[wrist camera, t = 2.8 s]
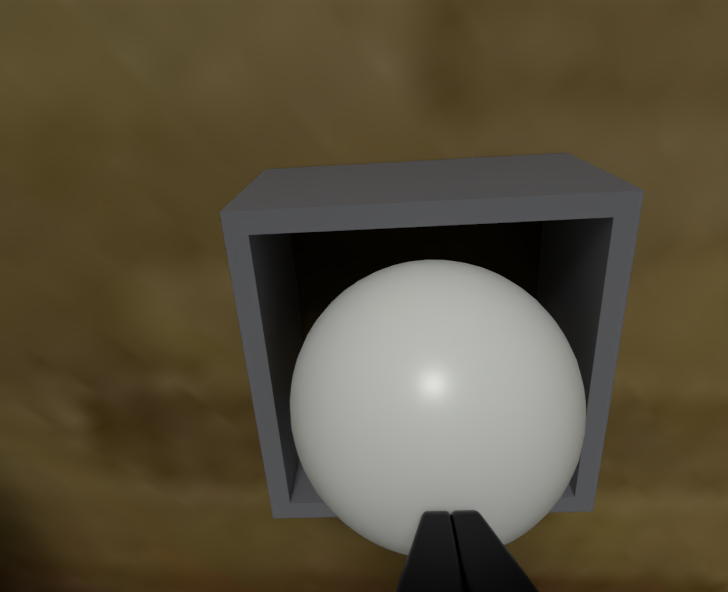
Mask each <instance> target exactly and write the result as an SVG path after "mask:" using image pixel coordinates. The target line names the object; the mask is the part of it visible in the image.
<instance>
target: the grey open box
mask: <svg viewBox="0 0 728 592" xmlns="http://www.w3.org/2000/svg"><path fill="white" fill-rule="evenodd" d="M643 194H644V190H642V189H640V188H638V187H636V186H634V185H632V184H630V183H628V182H626V181H624V180H622V179H620V178H618V177H616V176H614V175H612V174H610V173H607V172H605V171H603V170H601V169H599V168H597V167H595V166H593V165H591V164H589V163H587V162H585V161H583V160H581V159H579V158H577V157H575V156H573V155H571V154H569V153H554V154H535V155H517V156H499V157H481V158H463V159H444V160H426V161H408V162H390V163H372V164H353V165H335V166H317V167H299V168H281V169H265V170H264V171H263V172H262V173H261V174H260V175H259V176H258V177H257V178H255V179H254V180H253V181H252V182H251V183H250V184H249V185H248V186H247V187H246V188H245V189H244V190H243V191H242V192H240V193H239V194H238V195H237V196H236V197H235V198H234V199H233V200H232V201H231V202H230V203H229V204H228V205H227V206H226V207H224V208H223V209H222V210H221V211H220V217H221V223H222V228H223V234H224V240H225V245H226V251H227V257H228V263H229V268H230V274H231V280H232V285H233V291H234V297H235V303H236V308H237V314H238V320H239V325H240V331H241V337H242V343H243V348H244V354H245V360H246V365H247V371H248V377H249V383H250V388H251V394H252V400H253V405H254V411H255V417H256V423H257V428H258V434H259V440H260V445H261V451H262V457H263V463H264V468H265V474H266V480H267V485H268V491H269V497H270V503H271V508H272V514H273V518H311V517H337V516H336V515H335V514H334V513H333V512H332V511H331V510H330V508H329V507H328V506H327V505H326V504H325V503H324V501H323V500H322V499H321V498H320V496H319V495H318V494H317V492H316V491H315V489H314V487H313V485H312V484H311V482H310V480H309V478H308V476H307V475H306V473H305V471H304V469H303V467H302V464H301V461H300V459H299V456H298V453H297V450H296V446H295V443H294V438H293V434H292V429H291V415H290V393H291V384H292V377H293V372H294V369H295V365H296V361H297V358H298V355H299V353H300V351H301V348H302V346H303V344H304V338H303V329H302V321H301V313H300V304H299V296H298V288H297V280H296V271H295V263H294V255H293V246H292V238H291V233H301V232H321V231H342V230H362V229H383V228H403V227H424V226H444V225H465V224H485V223H506V222H526V221H543V222H542V234H541V246H540V259H539V271H538V283H537V295H536V300H537V301H538V302H539V303H540V304H541V305H542V307H543V308H544V309H545V310H546V311H547V312H548V313H549V314H550V315H551V316H552V318H553V319H554V320H555V321H556V323H557V324H558V326H559V327H560V329H561V330H562V332H563V333H564V335H565V337H566V339H567V341H568V343H569V345H570V347H571V349H572V351H573V353H574V355H575V357H576V360H577V363H578V366H579V370H580V374H581V377H582V381H583V385H584V391H585V400H586V427H585V436H584V440H583V445H582V449H581V454H580V458H579V461H578V464H577V466H576V469H575V472H574V474H573V476H572V478H571V480H570V482H569V484H568V486H567V487H566V489H565V491H564V493H563V494H562V496H561V498H560V499H559V500H558V501H557V503H556V504H555V505H554V507H553V508H552V509H551V510H550V511H549V512H591V511H593V507H594V501H595V495H596V489H597V482H598V476H599V470H600V464H601V457H602V451H603V445H604V439H605V432H606V426H607V420H608V414H609V407H610V401H611V395H612V388H613V382H614V376H615V370H616V363H617V357H618V351H619V345H620V338H621V332H622V326H623V320H624V313H625V307H626V301H627V294H628V288H629V282H630V276H631V269H632V263H633V257H634V251H635V244H636V238H637V232H638V226H639V219H640V213H641V207H642V200H643Z"/></svg>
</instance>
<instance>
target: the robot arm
mask: <svg viewBox="0 0 728 592" xmlns="http://www.w3.org/2000/svg"><path fill="white" fill-rule="evenodd" d="M396 592H539V591H538V590H537V588H536V587H535V586H534V584H533V583H532V582H531V580H530V579H529V578H528V576H527V575H526V574H525V572H524V571H523V570H522V568H521V567H520V566H519V564H518V563H517V562H516V560H515V559H514V558H513V556H512V555H511V554H510V552H509V551H508V550H507V548H506V547H505V546H504V544H503V543H502V542H501V540H500V539H499V538H498V536H497V535H496V534H495V532H494V531H493V530H492V528H491V527H490V526H489V524H488V523H487V522H486V520H485V519H484V518H483V516H482V515H481V514H480V513H479V512H478V511H476V510H455V511H453V512H452V513H451V515H450V513H449V512H448V511H425V512H424V513H423V514H422V516H421V519H420V522H419V524H418V527H417V530H416V533H415V536H414V539H413V542H412V545H411V548H410V551H409V554H408V557H407V560H406V563H405V565H404V568H403V571H402V574H401V577H400V580H399V583H398V586H397V589H396Z"/></svg>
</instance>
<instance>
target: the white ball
mask: <svg viewBox="0 0 728 592" xmlns="http://www.w3.org/2000/svg"><path fill="white" fill-rule="evenodd" d="M290 415H291V429H292V434H293V438H294V443H295V446H296V450H297V453H298V456H299V459H300V461H301V464H302V467H303V469H304V471H305V473H306V475H307V476H308V478H309V480H310V482H311V484H312V485H313V487H314V489H315V491H316V492H317V494H318V495H319V496H320V498H321V499H322V500H323V501H324V503H325V504H326V505H327V506H328V507H329V508H330V510H331V511H332V512H333V513H334V514H335V515H336V516H337V517H338V518H339V519H340V520H341V521H342V522H343V523H345V524H346V525H347V526H349V527H350V528H351V529H353V530H354V531H355V532H357V533H358V534H360V535H361V536H363V537H364V538H366V539H368V540H369V541H371V542H373V543H375V544H377V545H379V546H381V547H383V548H386V549H388V550H391V551H394V552H397V553H400V554H405V555H408V554H409V551H410V548H411V545H412V542H413V539H414V536H415V533H416V530H417V527H418V524H419V522H420V519H421V516H422V514H423V513H424V512H425V511H448V512H449V513H450V515H451V513H452V512H453V511H455V510H476V511H478V512H479V513H480V514H481V515H482V516H483V518H484V519H485V520H486V522H487V523H488V524H489V526H490V527H491V528H492V530H493V531H494V532H495V534H496V535H497V536H498V538H499V539H500V540H501V542H502V543H503V544H504V545H506V544H508V543H510V542H512V541H514V540H515V539H517V538H519V537H520V536H522V535H524V534H525V533H526V532H528V531H529V530H530V529H532V528H533V527H534V526H535V525H536V524H537V523H538V522H539V521H540V520H541V519H542V518H543V517H544V516H545V515H546V514H547V513H548V512H549V511H550V510H551V509H552V508H553V507H554V505H555V504H556V503H557V501H558V500H559V499H560V498H561V496H562V494H563V493H564V491H565V489H566V487H567V486H568V484H569V482H570V480H571V478H572V476H573V474H574V472H575V469H576V466H577V464H578V461H579V458H580V454H581V449H582V445H583V440H584V436H585V427H586V400H585V391H584V385H583V381H582V377H581V374H580V370H579V366H578V363H577V360H576V357H575V355H574V353H573V351H572V349H571V347H570V345H569V343H568V341H567V339H566V337H565V335H564V333H563V332H562V330H561V329H560V327H559V326H558V324H557V323H556V321H555V320H554V319H553V318H552V316H551V315H550V314H549V313H548V312H547V311H546V310H545V309H544V308H543V307H542V305H541V304H540V303H539V302H538V301H537V300H536V299H535V298H534V297H532V296H531V295H530V294H529V293H527V292H526V291H525V290H523V289H522V288H521V287H519V286H518V285H516V284H515V283H513V282H511V281H510V280H508V279H506V278H504V277H503V276H501V275H499V274H497V273H494V272H492V271H490V270H487V269H485V268H482V267H478V266H475V265H471V264H467V263H463V262H456V261H449V260H418V261H409V262H405V263H401V264H396V265H392V266H390V267H387V268H384V269H382V270H379V271H376V272H374V273H372V274H371V275H369V276H367V277H365V278H363V279H361V280H359V281H357V282H356V283H354V284H353V285H352V286H350V287H349V288H347V289H346V290H344V291H343V292H342V293H341V294H340V295H339V296H338V297H337V298H335V299H334V300H333V301H332V302H331V303H330V304H329V306H328V307H327V308H326V309H325V310H324V312H323V313H322V314H321V315H320V316H319V318H318V319H317V320H316V322H315V323H314V325H313V326H312V328H311V330H310V331H309V333H308V335H307V337H306V339H305V341H304V344H303V346H302V348H301V351H300V353H299V355H298V358H297V361H296V365H295V369H294V372H293V377H292V384H291V393H290Z"/></svg>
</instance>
